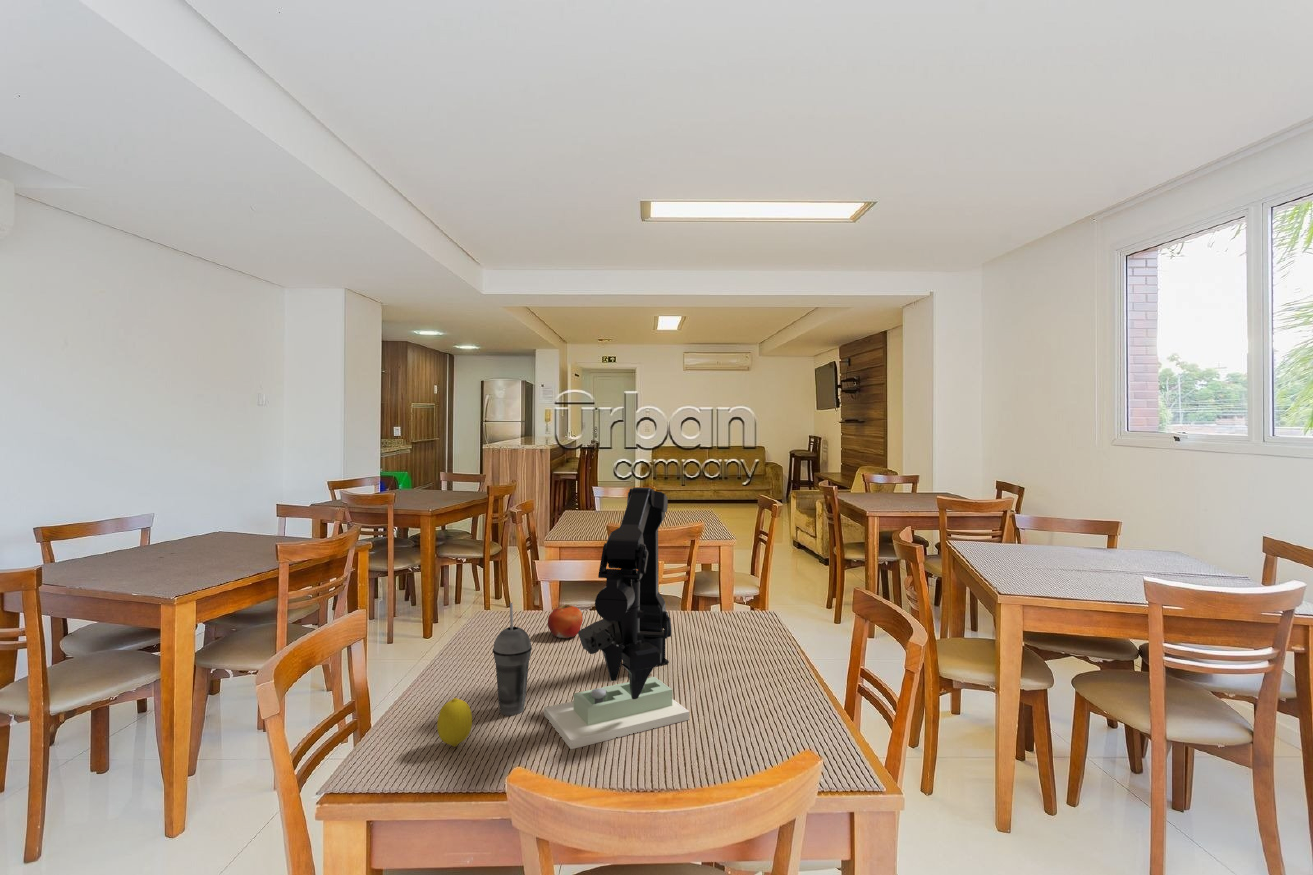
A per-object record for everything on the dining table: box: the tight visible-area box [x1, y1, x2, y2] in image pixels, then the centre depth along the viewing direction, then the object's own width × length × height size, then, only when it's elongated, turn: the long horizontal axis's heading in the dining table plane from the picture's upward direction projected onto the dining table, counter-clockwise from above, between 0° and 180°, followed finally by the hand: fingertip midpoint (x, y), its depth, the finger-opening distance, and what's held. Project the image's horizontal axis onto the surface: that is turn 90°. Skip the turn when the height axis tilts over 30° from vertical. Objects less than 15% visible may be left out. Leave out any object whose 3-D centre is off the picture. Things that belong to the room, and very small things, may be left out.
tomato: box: [547, 604, 584, 639], centre depth 158 cm, size 9×9×8 cm
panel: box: [573, 676, 673, 725], centre depth 112 cm, size 17×7×3 cm, turn 119°
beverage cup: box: [492, 602, 533, 716], centre depth 114 cm, size 7×7×20 cm
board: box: [543, 687, 690, 750], centre depth 111 cm, size 23×14×6 cm, turn 119°
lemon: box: [436, 697, 473, 748], centre depth 100 cm, size 6×6×8 cm
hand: (623, 689), depth 112 cm, fingers open, 9 cm apart
